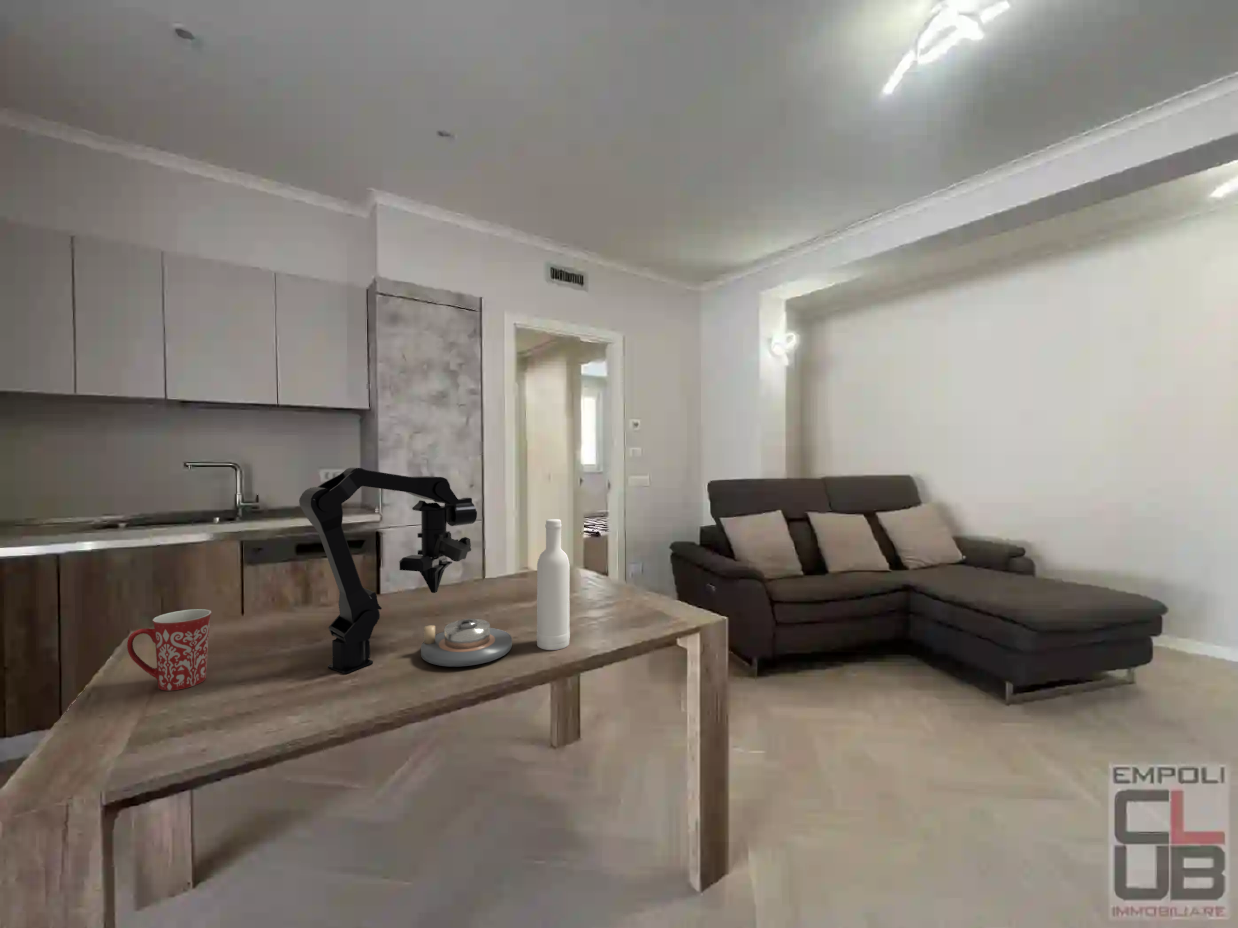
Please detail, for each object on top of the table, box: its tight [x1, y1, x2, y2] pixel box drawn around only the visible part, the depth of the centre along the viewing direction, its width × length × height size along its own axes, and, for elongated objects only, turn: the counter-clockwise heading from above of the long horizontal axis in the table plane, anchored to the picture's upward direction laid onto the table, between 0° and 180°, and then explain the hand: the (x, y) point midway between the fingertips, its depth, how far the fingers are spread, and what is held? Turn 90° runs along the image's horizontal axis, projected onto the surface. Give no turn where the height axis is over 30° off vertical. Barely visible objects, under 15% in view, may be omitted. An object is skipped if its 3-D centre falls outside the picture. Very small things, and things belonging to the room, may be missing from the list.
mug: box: [126, 608, 212, 692], centre depth 103 cm, size 13×9×14 cm
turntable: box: [420, 624, 513, 667], centre depth 120 cm, size 20×20×5 cm
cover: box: [444, 618, 491, 649], centre depth 120 cm, size 10×10×5 cm
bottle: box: [536, 518, 571, 651], centre depth 125 cm, size 8×8×30 cm
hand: (434, 592), depth 126 cm, fingers closed
